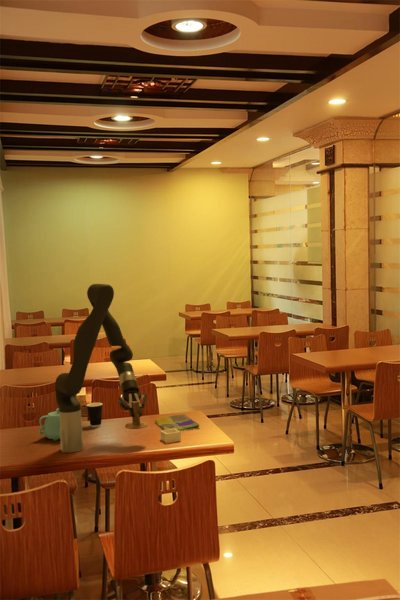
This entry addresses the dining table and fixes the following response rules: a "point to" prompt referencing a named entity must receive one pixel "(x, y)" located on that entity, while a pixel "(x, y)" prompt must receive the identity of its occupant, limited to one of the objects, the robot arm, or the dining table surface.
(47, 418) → the decorative pot
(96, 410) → the dixie cup
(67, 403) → the robot arm
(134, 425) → the brown post on base
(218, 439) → the dining table surface
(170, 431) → the beige square base
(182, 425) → the dish towel
